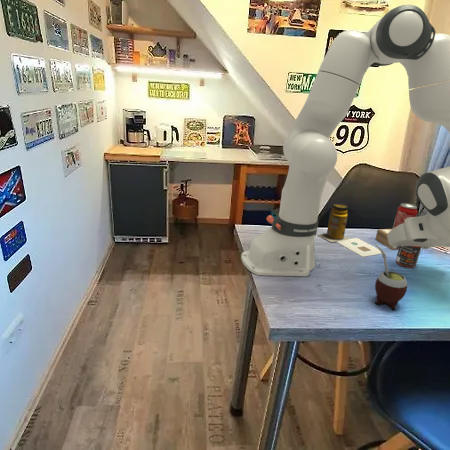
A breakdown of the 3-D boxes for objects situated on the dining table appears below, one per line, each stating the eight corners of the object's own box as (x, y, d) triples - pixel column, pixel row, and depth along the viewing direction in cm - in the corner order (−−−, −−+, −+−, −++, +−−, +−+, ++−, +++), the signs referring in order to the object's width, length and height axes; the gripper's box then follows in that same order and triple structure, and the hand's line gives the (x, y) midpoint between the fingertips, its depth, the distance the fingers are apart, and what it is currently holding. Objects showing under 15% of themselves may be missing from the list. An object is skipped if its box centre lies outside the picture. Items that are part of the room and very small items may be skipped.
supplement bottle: (395, 266, 109) (404, 232, 105) (394, 258, 114) (402, 226, 110) (417, 270, 107) (427, 236, 103) (414, 262, 112) (423, 229, 108)
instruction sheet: (362, 257, 114) (363, 256, 114) (335, 241, 125) (335, 240, 125) (385, 253, 118) (385, 252, 118) (356, 238, 129) (356, 237, 129)
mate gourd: (407, 310, 86) (423, 255, 81) (379, 313, 85) (394, 257, 79) (388, 294, 93) (402, 242, 88) (361, 296, 91) (374, 243, 86)
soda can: (408, 240, 130) (417, 209, 126) (389, 235, 134) (397, 205, 130) (412, 235, 136) (420, 205, 131) (393, 230, 139) (401, 201, 135)
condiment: (348, 239, 127) (354, 207, 123) (331, 242, 123) (337, 209, 119) (334, 232, 133) (339, 202, 129) (317, 235, 129) (321, 204, 125)
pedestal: (392, 249, 121) (394, 238, 119) (375, 239, 129) (377, 228, 128) (413, 248, 123) (416, 237, 122) (395, 238, 131) (398, 227, 130)
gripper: (470, 219, 99) (437, 237, 111) (401, 217, 97) (376, 236, 109) (476, 240, 96) (443, 256, 109) (406, 238, 94) (380, 255, 107)
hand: (409, 246), depth 109 cm, fingers open, 8 cm apart
